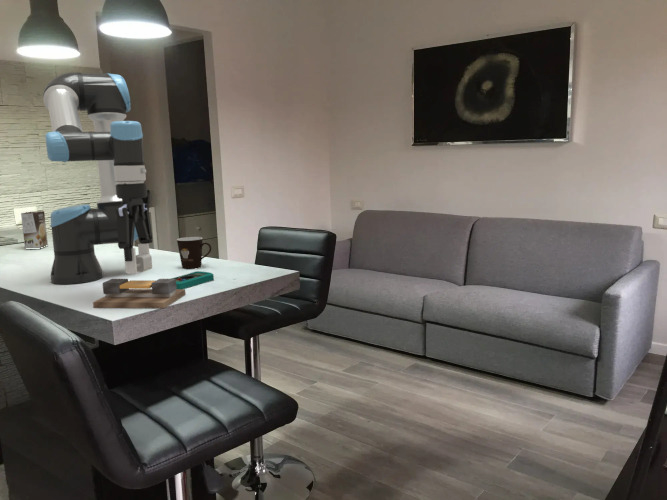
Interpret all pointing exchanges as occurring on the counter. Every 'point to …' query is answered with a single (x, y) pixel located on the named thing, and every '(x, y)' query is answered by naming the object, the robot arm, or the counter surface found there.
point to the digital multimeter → (193, 279)
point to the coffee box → (34, 229)
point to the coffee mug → (191, 252)
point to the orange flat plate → (137, 284)
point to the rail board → (139, 295)
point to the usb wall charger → (143, 262)
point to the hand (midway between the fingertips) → (138, 270)
